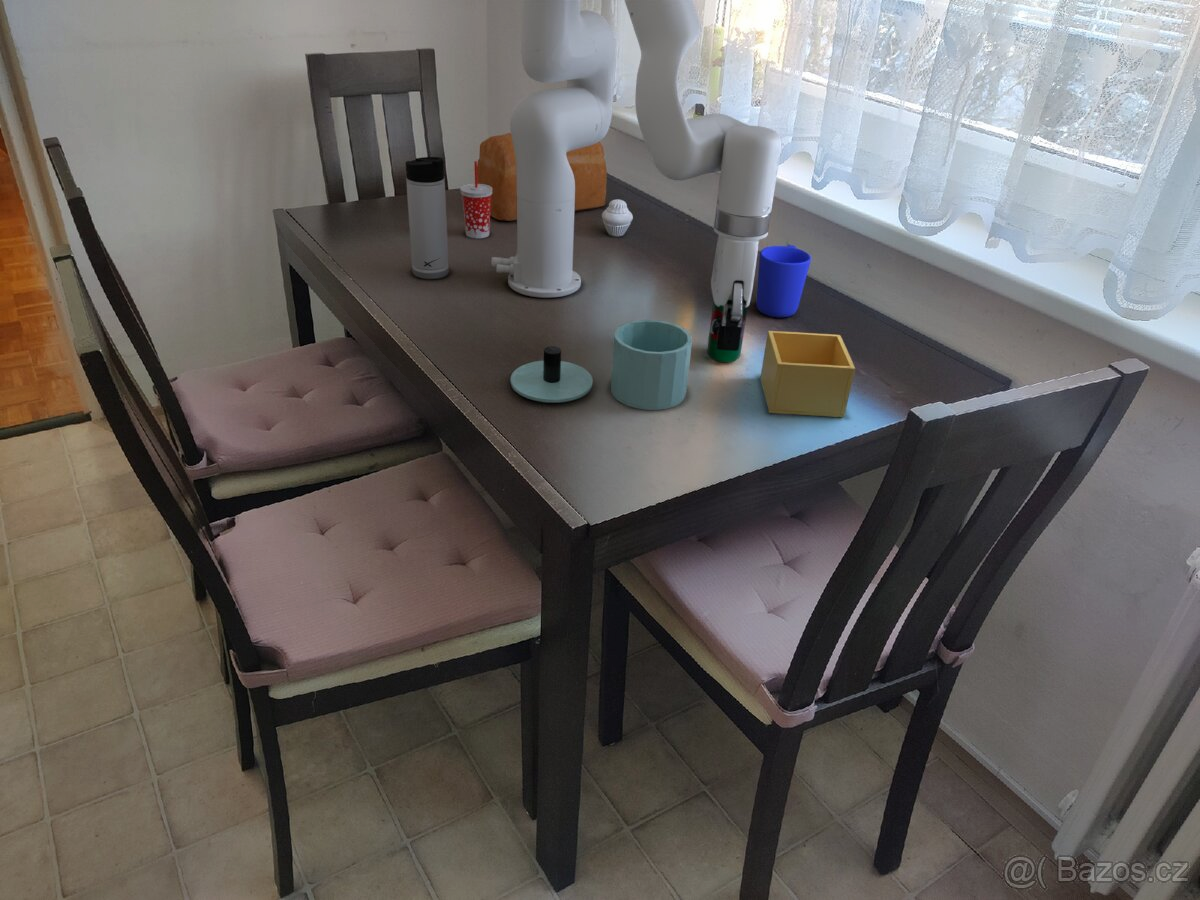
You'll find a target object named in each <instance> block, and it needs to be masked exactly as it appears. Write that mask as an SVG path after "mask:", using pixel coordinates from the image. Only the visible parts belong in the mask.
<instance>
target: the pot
mask: <svg viewBox="0 0 1200 900" xmlns="http://www.w3.org/2000/svg"><path fill="white" fill-rule="evenodd" d="M613 333H614V335H613V347H612V348H613V350H612V364H611V382H610V392H611V394H612V396H613V397H614V398H615V399H616V400H617V401H618V402H620V403H621V404H623V405H625V406H628V407H631V408H634V409H639V410H645V411H646V410H647V411H660V410H661V411H662V410H666V409H671V408H674V407H676V406H678V405H680V404H681V403H683V401H684V400H685V397H686V395H687V388H688V380H689V371H690V364H691V356H692V345H693V338H692V334H691V333H690V332H689V331H688V330H687V329H685V328H684V327H682V326H679V325H678V324H675V323H674V322H668V321H665V320H657V319H638V320H631V321H628V322H625V323H623V324H620V325H618V327H617V328H616V329H615V330H614V332H613Z"/></svg>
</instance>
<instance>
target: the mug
mask: <svg viewBox="0 0 1200 900" xmlns="http://www.w3.org/2000/svg"><path fill="white" fill-rule="evenodd" d="M758 261H759V262H758V272H757V273H758V274H757V286H756V287H757V289H756V301H755V302H756V308H757V310H758V311H759V312H760V313H761V314H763V315H766V316H768V317H772V318H779V319H783V318H788V317H792V316H793V315H794V314H796V312H797V310H798V309H799V306H800V302H801V298H802V295H803V290H804V287H805V283H806V280H807V277H808V272H809V269H810V265H811V261H812V258H811V255H810V254H809V253H808V252H807V251H804V250H802V249H800V248H797V245H793V244H788V245H771V246H767V247H764V248H762V249H761V250H760V251H759V260H758Z"/></svg>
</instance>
